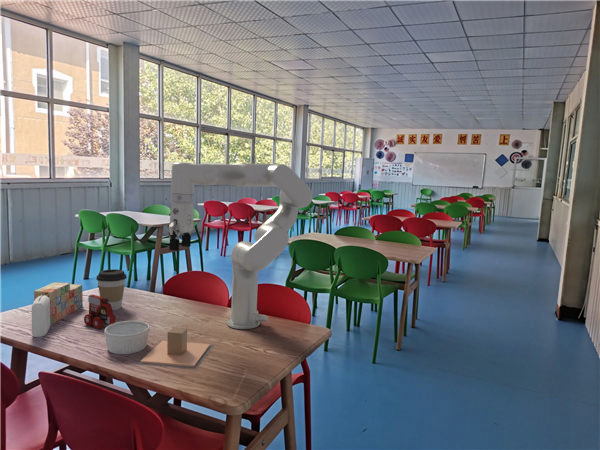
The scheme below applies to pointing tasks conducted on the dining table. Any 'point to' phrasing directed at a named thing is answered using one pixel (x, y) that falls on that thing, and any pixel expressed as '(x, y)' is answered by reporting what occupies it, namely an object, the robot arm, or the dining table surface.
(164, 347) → the cover
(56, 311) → the stack of blocks
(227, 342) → the dining table surface
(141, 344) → the ramekin
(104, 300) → the toy fire truck
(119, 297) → the coffee cup
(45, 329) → the photo printer
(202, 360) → the mat
